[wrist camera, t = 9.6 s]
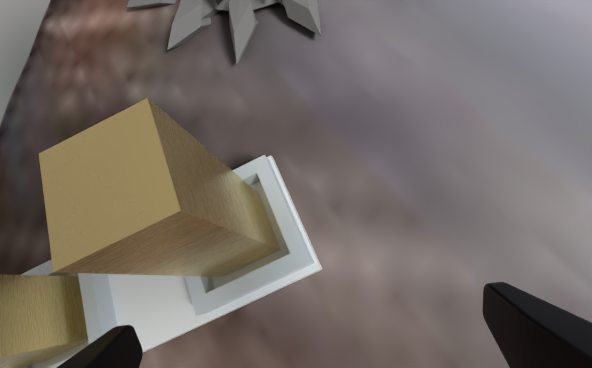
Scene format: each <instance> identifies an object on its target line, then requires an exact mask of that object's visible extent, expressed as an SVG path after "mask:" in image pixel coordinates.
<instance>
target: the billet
mask: <svg viewBox="0 0 592 368" xmlns="http://www.w3.org/2000/svg"><path fill="white" fill-rule="evenodd" d="M39 160H40V168H41V176H42V184H43V193H44V201H45V209H46V217H47V225H48V233H49V241H50V250H51V258H52V266H53V272H57V273H93V274H129V275H164V276H200V277H223V276H225V275H227V274H230V273H232V272H234V271H236V270H238V269H240V268H242V267H245V266H247V265H249V264H251V263H253V262H255V261H257V260H260V259H262V258H264V257H266V256H268V255H270V254H272V253H275V252H277V251H279V250H281V249H280V246H279V244H278V241H277V239H276V236H275V234H274V231H273V229H272V226H271V224H270V221H269V219H268V217H267V214H266V212H265V209H264V207H263V204H262V202H261V199H260V197H259V194H258V192H257V191H256V190H254V189H253V188H252V187H251V186H250V185H249V184H247V183H246V182H245V181H244V180H243V179H242V178H240V177H239V176H238V175H237V174H236V173H235V172H233V171H232V170H231V169H230V168H229V167H228V166H226V165H225V164H224V163H223V162H222V161H221V160H219V159H218V158H217V157H216V156H215V155H214V154H212V153H211V152H210V151H209V150H208V149H207V148H205V147H204V146H203V145H202V144H201V143H200V142H198V141H197V140H196V139H195V138H194V137H192V136H191V135H190V134H189V133H188V132H187V131H185V130H184V129H183V128H182V127H181V126H180V125H178V124H177V123H176V122H175V121H174V120H173V119H171V118H170V117H169V116H168V115H167V114H166V113H164V112H163V111H162V110H161V109H160V108H159V107H157V106H156V105H155V104H154V103H153V102H152V101H150V100H149V99H148V98H147V99H145V100H143V101H141V102H139V103H137V104H135V105H133V106H131V107H129V108H127V109H125V110H123V111H121V112H120V113H118V114H116V115H114V116H112V117H110V118H108V119H106V120H104V121H102V122H100V123H98V124H96V125H94V126H92V127H90V128H88V129H86V130H84V131H82V132H80V133H78V134H76V135H75V136H73V137H71V138H69V139H67V140H65V141H63V142H61V143H59V144H57V145H55V146H53V147H51V148H49V149H47V150H45V151H43V152H41V153H39Z"/></svg>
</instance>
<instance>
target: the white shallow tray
mask: <svg viewBox="0 0 592 368" xmlns="http://www.w3.org/2000/svg"><path fill="white" fill-rule="evenodd" d="M232 171H233V172H235V173H236V174H237V175H238V176H239V177H240V178H242V179H243V180H244V181H245V182H246V183H247V184H249V185H250V186H251V187H252V188H253V189H254V190H256V191H257V192H258V194H259V197H260V199H261V202H262V204H263V207H264V209H265V212H266V214H267V217H268V219H269V221H270V224H271V226H272V229H273V231H274V234H275V236H276V239H277V241H278V244H279V246H280V249H281V250H279V251H277V252H275V253H272V254H270V255H268V256H266V257H264V258H262V259H260V260H257V261H255V262H253V263H251V264H249V265H247V266H245V267H242V268H240V269H238V270H236V271H234V272H232V273H230V274H227V275H225V276H223V277H200V276H164V275H129V274H93V273H57V272H53V266H52V259H51V260H49V261H47V262H45V263H43V264H41V265H39V266H37V267H35V268H33V269H31V270H29V271H27V272H25V273H23V274H21V275H47V276H79V282H80V289H81V295H82V302H83V308H84V315H85V321H86V328H87V334H88V341H87V342H85V343H83V344H81V345H79V346H77V347H75V348H72V349H70V350H68V351H66V352H64V353H62V354H60V355H58V356H55V357H53V358H51V359H49V360H47V361H45V362H43V363H40V364H36V365H32V366H28V367H24V368H57V367H58V366H59V365H61V364H62V363H64V362H65V361H67V360H68V359H69V358H71V357H72V356H74V355H75V354H76V353H78V352H79V351H81V350H82V349H84V348H85V347H86V346H88V345H89V344H91V343H92V342H94V341H95V340H96V339H98V338H99V337H101V336H102V335H103V334H105V333H106V332H108V331H109V330H111V329H112V328H114V327H116V326H122V325H132V326H133V327H134V329H135V331H136V334H137V336H138V339H139V341H140V344H141V346H142V351H143V352H146V351H148V350H150V349H152V348H154V347H156V346H159V345H161V344H163V343H165V342H167V341H169V340H172V339H174V338H176V337H178V336H180V335H182V334H184V333H187V332H189V331H191V330H193V329H195V328H197V327H200V326H202V325H204V324H206V323H208V322H210V321H212V320H215V319H217V318H219V317H221V316H223V315H225V314H228V313H230V312H232V311H234V310H236V309H238V308H240V307H243V306H245V305H247V304H249V303H251V302H253V301H256V300H258V299H260V298H262V297H264V296H266V295H268V294H271V293H273V292H275V291H277V290H279V289H281V288H284V287H286V286H288V285H290V284H292V283H294V282H296V281H299V280H301V279H303V278H305V277H307V276H309V275H312V274H314V273H316V272H318V271H320V270H322V266H321V264H320V262H319V260H318V257H317V255H316V253H315V251H314V248H313V246H312V244H311V242H310V239H309V237H308V235H307V233H306V230H305V228H304V226H303V224H302V221H301V219H300V217H299V215H298V212H297V210H296V208H295V206H294V203H293V201H292V199H291V197H290V194H289V192H288V190H287V188H286V185H285V183H284V181H283V178H282V176H281V174H280V172H279V169H278V167H277V165H276V163H275V160H274V159H273V157H272V156H269V157H266V156H265V155H263V156H261V157H259V158H257V159H255V160H253V161H251V162H249V163H247V164H245V165H243V166H241V167H239V168H237V169H234V170H232Z"/></svg>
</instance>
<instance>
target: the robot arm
mask: <svg viewBox="0 0 592 368" xmlns="http://www.w3.org/2000/svg"><path fill="white" fill-rule="evenodd" d="M483 316H484V319H485V321H486V323H487V325H488V327H489V329H490V331H491V333H492V335H493V337H494V339H495V340H496V342H497V344H498V346H499V348H500V350H501V352H502V354H503V356H504V357H505V359H506V361H507V363H508V365H509V367H510V368H592V323H591V322H589V321H587V320H585V319H583V318H580V317H578V316H576V315H574V314H572V313H570V312H567V311H565V310H563V309H561V308H559V307H557V306H555V305H552V304H550V303H548V302H546V301H544V300H542V299H539V298H537V297H535V296H533V295H531V294H529V293H526V292H524V291H522V290H520V289H518V288H516V287H514V286H511V285H509V284H507V283H505V282H496V283H488V284H486V285H485V286H484V291H483ZM142 355H143V351H142V346H141V344H140V341H139V339H138V336H137V334H136V331H135V329H134V327H133V326H132V325H122V326H116V327H114V328H112V329H111V330H109V331H108V332H106V333H105V334H103V335H102V336H101V337H99V338H98V339H96V340H95V341H94V342H92V343H91V344H89V345H88V346H86V347H85V348H84V349H82V350H81V351H79V352H78V353H76V354H75V355H74V356H72V357H71V358H69V359H68V360H67V361H65V362H64V363H62V364H61V365H59V366H58V367H57V368H139V366H140V363H141V360H142Z"/></svg>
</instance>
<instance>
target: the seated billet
mask: <svg viewBox="0 0 592 368" xmlns="http://www.w3.org/2000/svg"><path fill="white" fill-rule="evenodd" d="M87 341H88V334H87V328H86V321H85V315H84V308H83V302H82V295H81V289H80V282H79V276H47V275H0V368H24V367H28V366H32V365H36V364H40V363H43V362H45V361H47V360H49V359H51V358H53V357H55V356H58V355H60V354H62V353H64V352H66V351H68V350H70V349H72V348H75V347H77V346H79V345H81V344H83V343H85V342H87Z"/></svg>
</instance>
